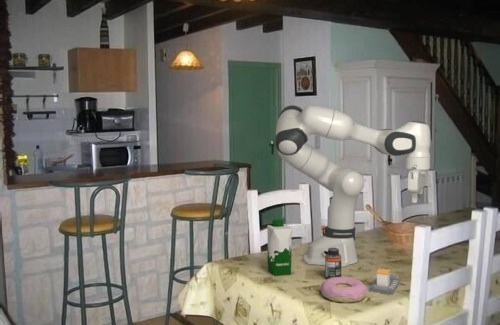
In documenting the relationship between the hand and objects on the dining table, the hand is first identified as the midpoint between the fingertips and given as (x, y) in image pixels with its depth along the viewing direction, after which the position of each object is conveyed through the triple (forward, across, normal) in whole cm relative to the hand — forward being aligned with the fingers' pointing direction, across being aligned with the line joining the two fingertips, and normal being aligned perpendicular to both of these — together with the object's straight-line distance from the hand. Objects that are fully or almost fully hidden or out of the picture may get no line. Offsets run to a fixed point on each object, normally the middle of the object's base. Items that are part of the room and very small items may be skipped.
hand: (417, 200), depth 193 cm
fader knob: (+26, -25, +6) cm, 37 cm away
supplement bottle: (+28, -22, +26) cm, 44 cm away
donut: (+28, -38, +16) cm, 50 cm away
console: (+28, -22, +6) cm, 36 cm away
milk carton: (+28, -25, +46) cm, 59 cm away
